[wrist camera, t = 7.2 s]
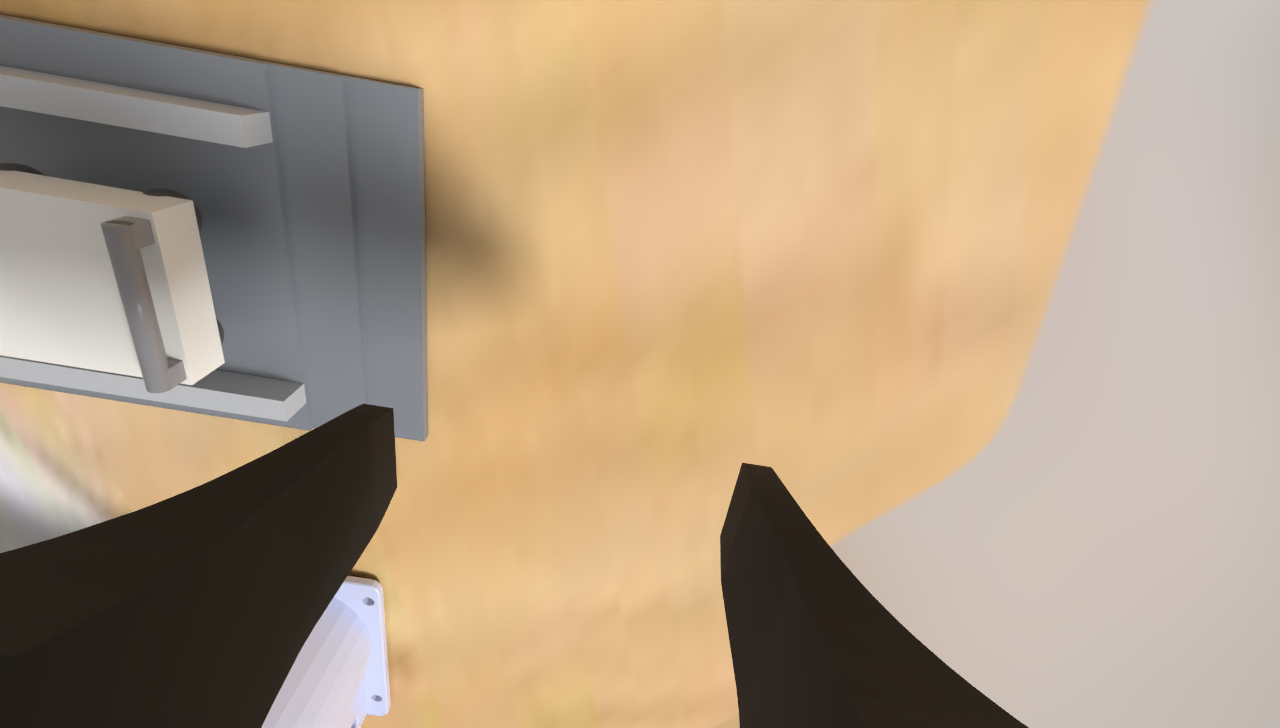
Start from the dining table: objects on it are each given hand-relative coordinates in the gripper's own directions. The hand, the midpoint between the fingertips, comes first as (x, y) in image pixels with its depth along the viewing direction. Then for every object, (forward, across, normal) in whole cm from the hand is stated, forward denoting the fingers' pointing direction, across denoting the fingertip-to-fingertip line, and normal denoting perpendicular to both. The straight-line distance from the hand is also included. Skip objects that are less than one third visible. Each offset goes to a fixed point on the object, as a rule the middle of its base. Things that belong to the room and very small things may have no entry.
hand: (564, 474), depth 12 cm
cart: (+7, +14, 0) cm, 16 cm away
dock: (+8, +14, 0) cm, 16 cm away
